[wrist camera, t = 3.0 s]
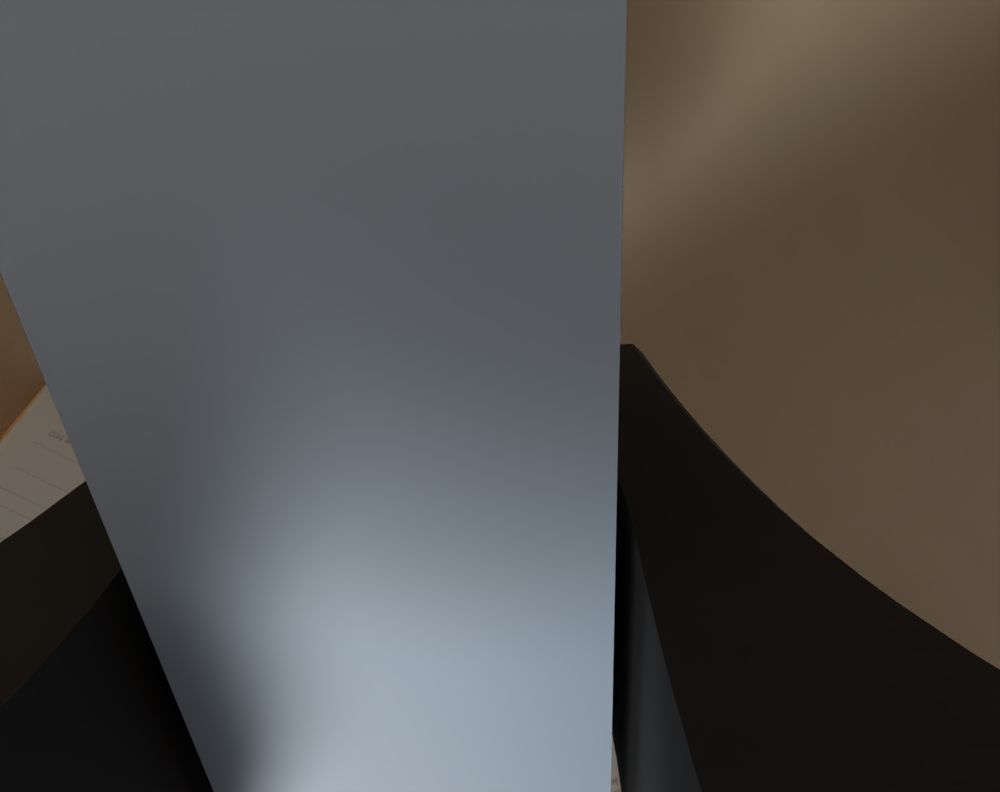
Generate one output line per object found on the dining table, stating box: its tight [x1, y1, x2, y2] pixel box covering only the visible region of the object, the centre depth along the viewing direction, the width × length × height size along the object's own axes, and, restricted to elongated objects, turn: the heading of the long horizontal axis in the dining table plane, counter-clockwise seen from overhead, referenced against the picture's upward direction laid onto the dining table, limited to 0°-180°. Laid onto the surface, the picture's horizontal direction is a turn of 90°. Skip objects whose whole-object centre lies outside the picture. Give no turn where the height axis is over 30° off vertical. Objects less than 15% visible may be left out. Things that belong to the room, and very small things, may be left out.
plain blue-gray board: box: [0, 0, 627, 792], centre depth 9 cm, size 3×12×6 cm, turn 3°
